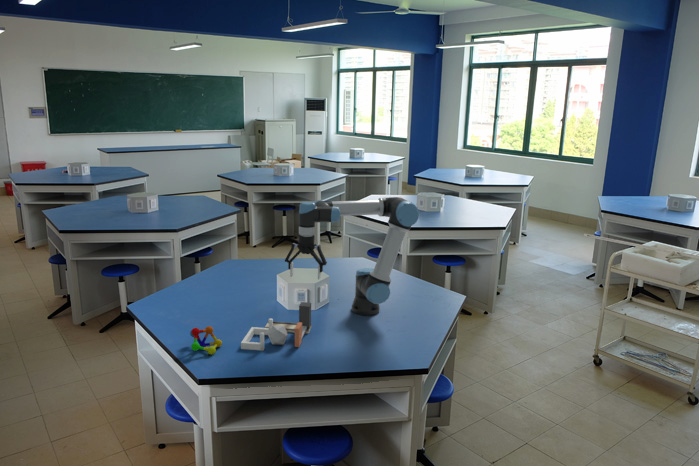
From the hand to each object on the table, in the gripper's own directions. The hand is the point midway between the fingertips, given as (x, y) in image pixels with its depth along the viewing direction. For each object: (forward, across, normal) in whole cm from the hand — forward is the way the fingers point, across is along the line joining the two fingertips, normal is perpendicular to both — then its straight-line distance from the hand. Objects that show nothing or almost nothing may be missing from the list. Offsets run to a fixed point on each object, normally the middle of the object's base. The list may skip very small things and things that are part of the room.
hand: (305, 277), depth 250 cm
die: (+27, +8, +20) cm, 34 cm away
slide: (+26, +7, +4) cm, 27 cm away
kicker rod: (+26, -2, +12) cm, 28 cm away
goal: (+27, +18, +20) cm, 38 cm away
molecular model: (+27, +38, +32) cm, 57 cm away
